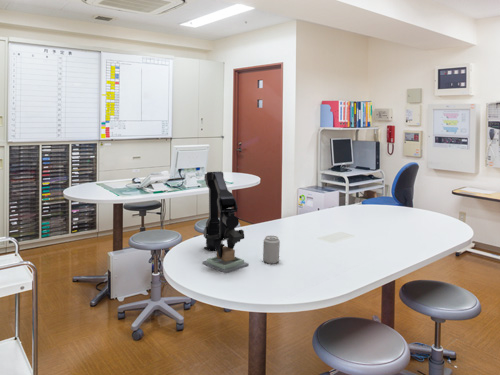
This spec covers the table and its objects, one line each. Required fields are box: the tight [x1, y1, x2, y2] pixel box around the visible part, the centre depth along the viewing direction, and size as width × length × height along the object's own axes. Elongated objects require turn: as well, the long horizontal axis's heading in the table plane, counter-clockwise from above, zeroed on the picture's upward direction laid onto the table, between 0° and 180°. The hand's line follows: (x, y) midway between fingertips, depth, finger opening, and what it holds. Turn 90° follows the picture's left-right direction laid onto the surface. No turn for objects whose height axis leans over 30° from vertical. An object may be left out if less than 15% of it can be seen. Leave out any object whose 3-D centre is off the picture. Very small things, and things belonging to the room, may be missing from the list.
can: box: [262, 235, 281, 265], centre depth 194 cm, size 8×8×12 cm
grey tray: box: [201, 255, 249, 274], centre depth 189 cm, size 16×14×2 cm
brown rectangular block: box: [216, 245, 236, 262], centre depth 188 cm, size 7×5×4 cm
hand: (225, 256), depth 189 cm, fingers closed on brown rectangular block, 5 cm apart
